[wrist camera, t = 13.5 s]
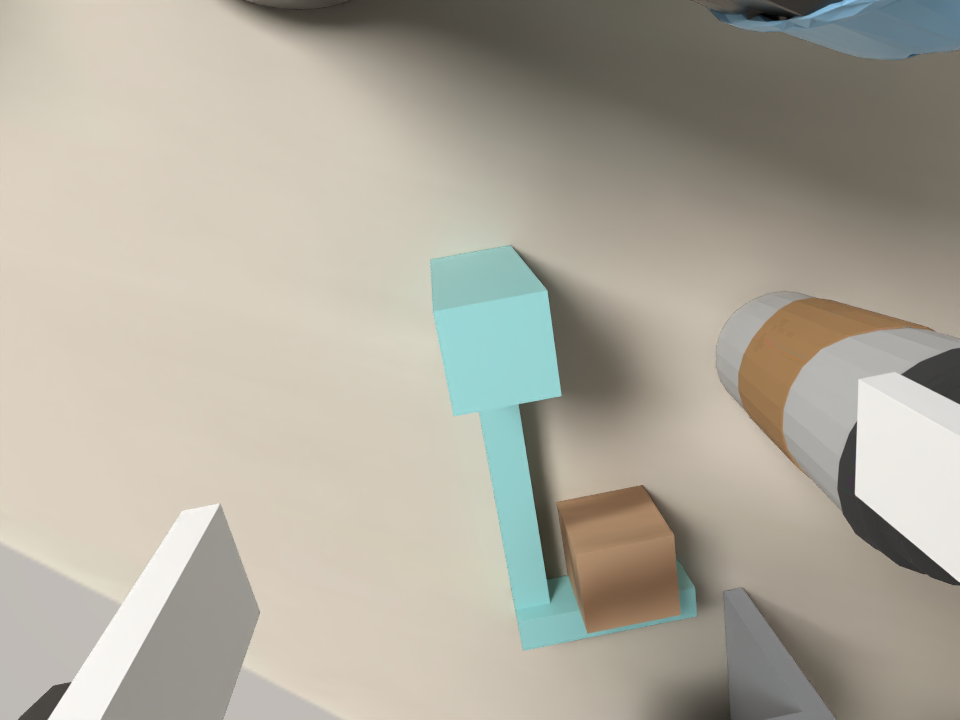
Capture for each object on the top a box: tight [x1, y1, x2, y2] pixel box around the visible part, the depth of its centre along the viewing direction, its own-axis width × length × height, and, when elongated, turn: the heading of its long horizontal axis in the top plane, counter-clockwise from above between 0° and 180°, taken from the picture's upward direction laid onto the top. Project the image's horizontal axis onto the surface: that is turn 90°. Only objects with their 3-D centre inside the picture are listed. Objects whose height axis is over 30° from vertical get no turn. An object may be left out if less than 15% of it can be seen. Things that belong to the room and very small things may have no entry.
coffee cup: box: [716, 291, 960, 585], centre depth 27 cm, size 8×8×15 cm
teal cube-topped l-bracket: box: [430, 245, 697, 651], centre depth 31 cm, size 22×11×10 cm, turn 10°
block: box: [557, 485, 681, 634], centre depth 35 cm, size 5×5×5 cm
